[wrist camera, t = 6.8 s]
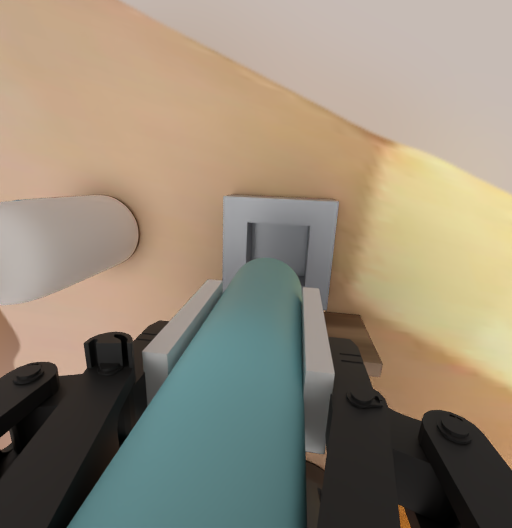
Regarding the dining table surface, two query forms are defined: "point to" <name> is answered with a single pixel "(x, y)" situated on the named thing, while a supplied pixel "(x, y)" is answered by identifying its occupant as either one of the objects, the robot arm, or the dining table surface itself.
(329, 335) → the wooden cutting board
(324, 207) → the socket block
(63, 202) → the milk bottle
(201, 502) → the peg
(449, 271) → the dining table surface
